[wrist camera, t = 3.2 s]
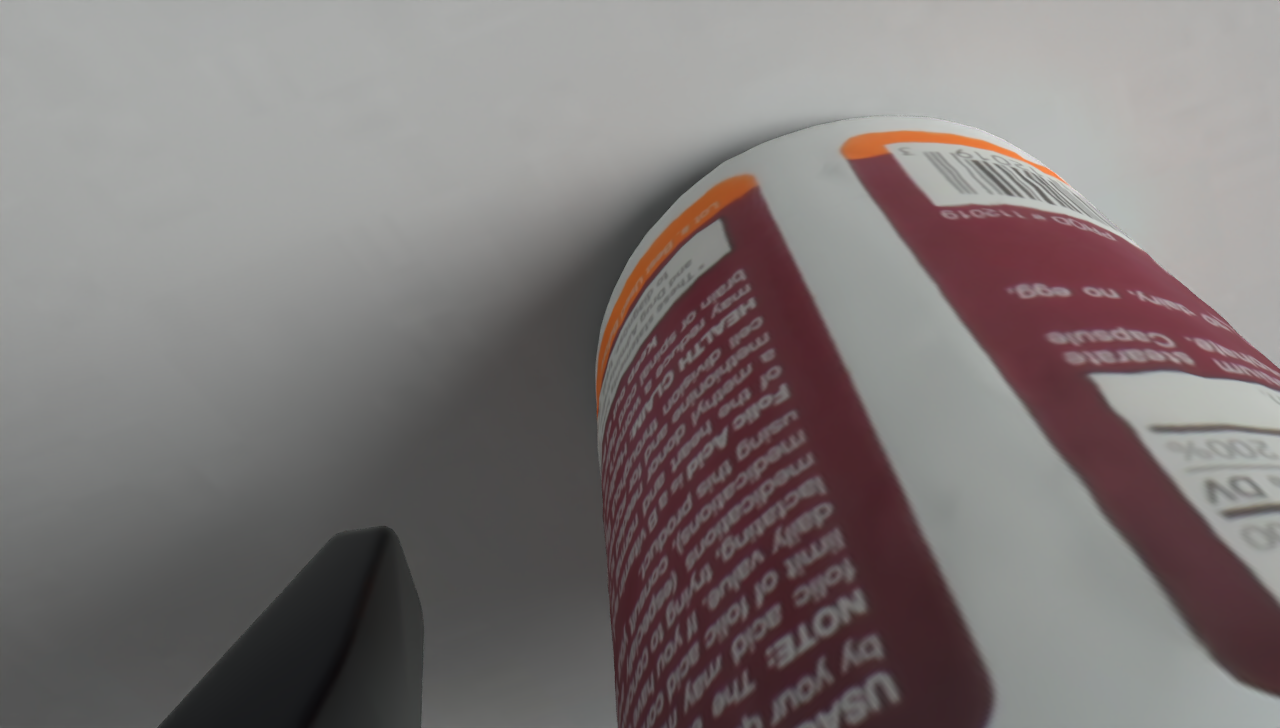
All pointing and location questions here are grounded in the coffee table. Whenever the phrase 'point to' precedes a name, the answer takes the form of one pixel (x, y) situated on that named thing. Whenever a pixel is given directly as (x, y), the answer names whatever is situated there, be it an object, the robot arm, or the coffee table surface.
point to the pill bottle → (929, 454)
